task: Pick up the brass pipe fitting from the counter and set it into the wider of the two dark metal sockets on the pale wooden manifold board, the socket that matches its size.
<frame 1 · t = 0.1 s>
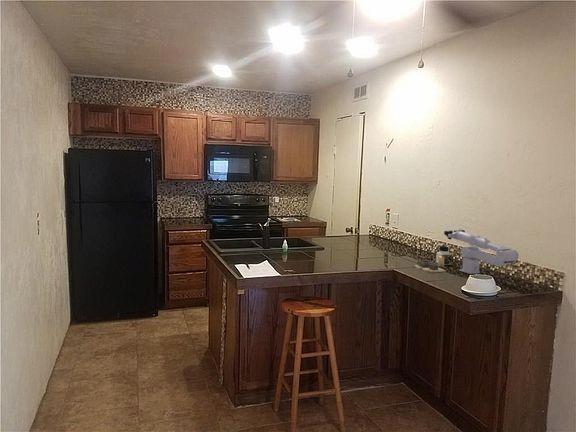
hand: (449, 232, 289), 22 cm above the countertop, tool horizontal, fingers open, 7 cm apart
brass fitting: (440, 267, 283), on the countertop
manifold board: (429, 269, 278), on the countertop
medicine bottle: (443, 263, 295), on the countertop
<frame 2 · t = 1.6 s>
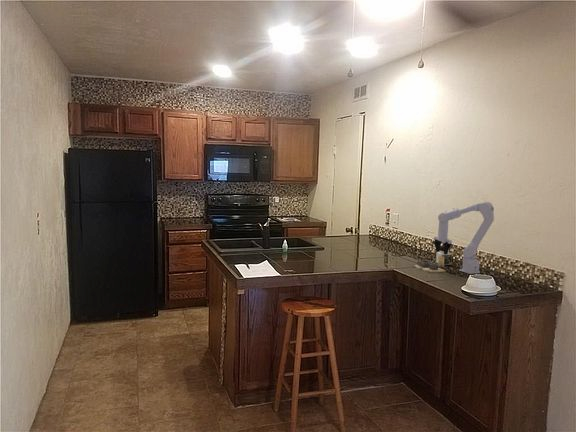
hand: (441, 252, 282), 9 cm above the countertop, tool pointing down, fingers open, 7 cm apart
nothing on the countertop moved.
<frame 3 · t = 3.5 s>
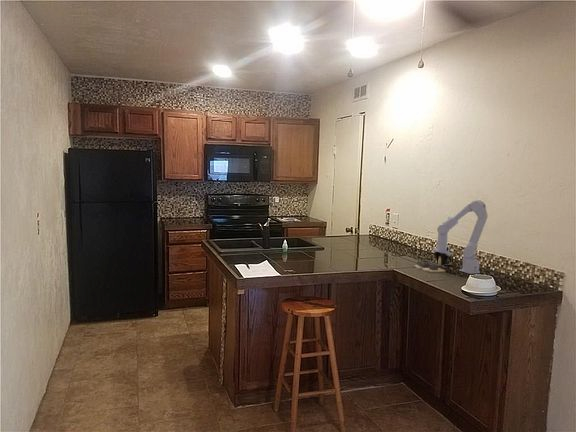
hand: (440, 264, 283), 2 cm above the countertop, tool pointing down, fingers closed on brass fitting, 3 cm apart
brass fitting: (440, 267, 283), on the countertop, touching gripper
everything else where it was.
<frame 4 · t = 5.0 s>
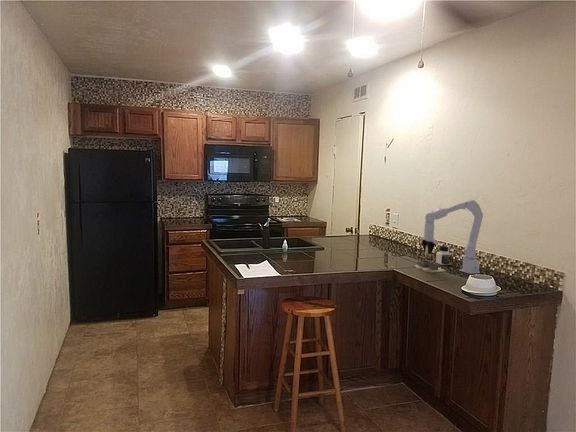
hand: (427, 252, 281), 9 cm above the countertop, tool pointing down, fingers closed on brass fitting, 3 cm apart
brass fitting: (427, 256, 281), point 7 cm above the countertop, touching gripper
everything else where it was.
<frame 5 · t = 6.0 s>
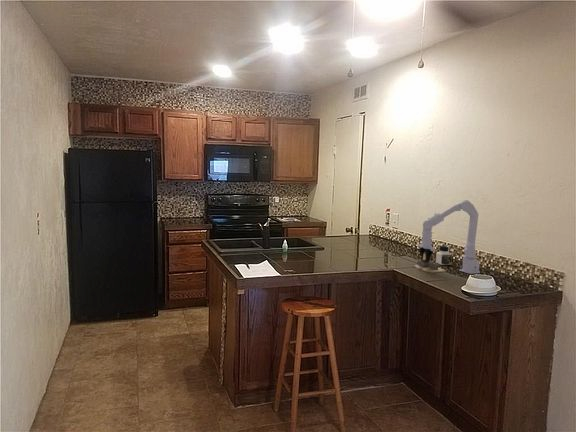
hand: (425, 260, 281), 5 cm above the countertop, tool pointing down, fingers closed on brass fitting, 3 cm apart
brass fitting: (425, 263, 281), point 3 cm above the countertop, touching gripper
everything else where it was.
when the fingers open (4 cm above the countertop, at t = 6.8 s): brass fitting drops 1 cm, resting on manifold board.
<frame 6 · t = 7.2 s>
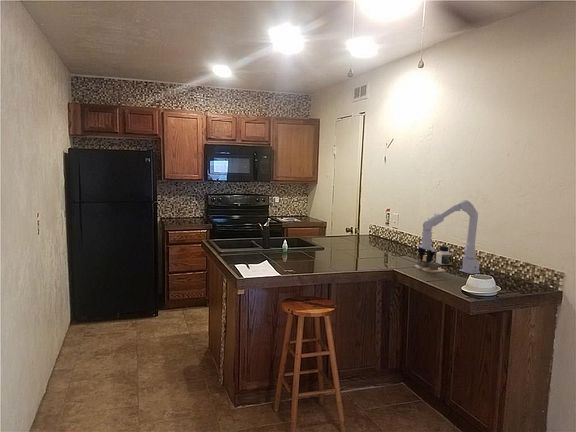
hand: (425, 260, 281), 4 cm above the countertop, tool pointing down, fingers open, 7 cm apart
brass fitting: (425, 266, 281), point 1 cm above the countertop, touching manifold board
everything else where it was.
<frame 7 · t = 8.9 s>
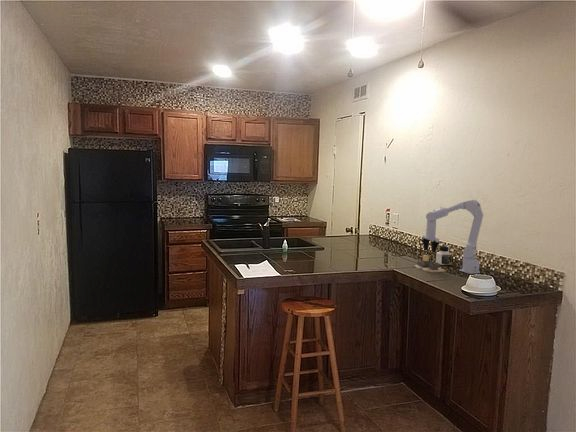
hand: (429, 251, 286), 9 cm above the countertop, tool pointing down, fingers open, 7 cm apart
nothing on the countertop moved.
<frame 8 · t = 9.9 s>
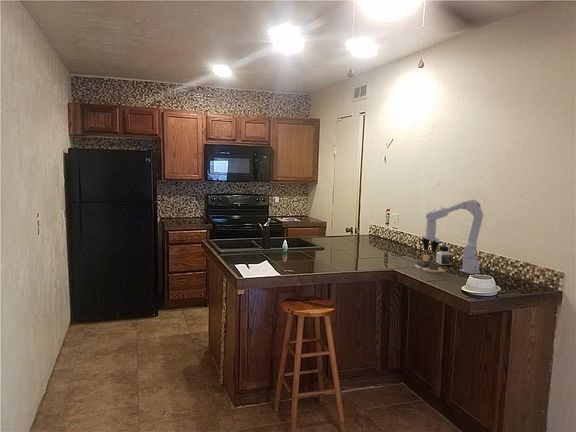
hand: (429, 251, 286), 9 cm above the countertop, tool pointing down, fingers open, 7 cm apart
nothing on the countertop moved.
at the end: brass fitting 0.1 cm from the target spot on the manifold board, point 1.0 cm above the manifold board's base; brass fitting tilted 1°; the gripper is holding nothing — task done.
